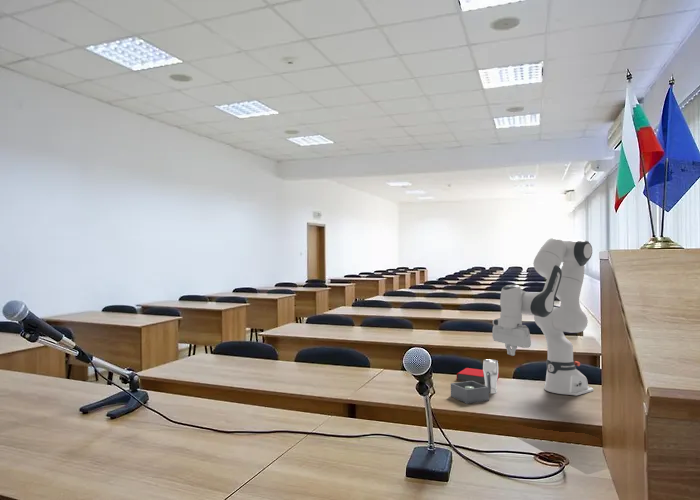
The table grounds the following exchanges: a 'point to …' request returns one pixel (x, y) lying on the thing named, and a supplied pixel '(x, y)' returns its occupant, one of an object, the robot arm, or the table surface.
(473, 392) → the bin
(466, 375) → the red device housing
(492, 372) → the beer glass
